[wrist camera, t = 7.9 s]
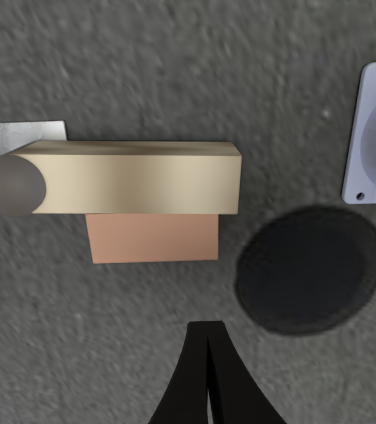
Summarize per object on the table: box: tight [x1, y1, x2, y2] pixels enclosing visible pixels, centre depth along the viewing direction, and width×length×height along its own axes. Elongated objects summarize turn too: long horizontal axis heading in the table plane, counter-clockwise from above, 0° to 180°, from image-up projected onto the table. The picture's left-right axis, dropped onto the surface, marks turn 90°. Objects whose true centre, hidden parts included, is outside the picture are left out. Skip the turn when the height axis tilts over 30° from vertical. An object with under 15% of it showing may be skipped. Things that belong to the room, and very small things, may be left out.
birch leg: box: [0, 141, 242, 217], centre depth 17 cm, size 12×3×4 cm, turn 89°
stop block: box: [85, 213, 218, 263], centre depth 19 cm, size 7×3×4 cm, turn 92°
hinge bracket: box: [0, 121, 68, 155], centre depth 17 cm, size 6×5×4 cm
